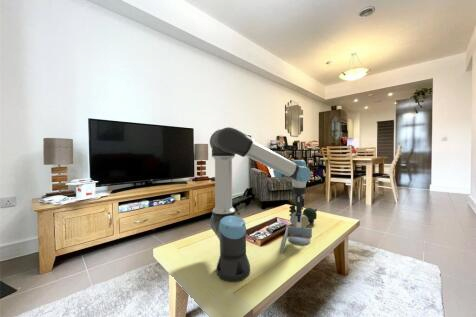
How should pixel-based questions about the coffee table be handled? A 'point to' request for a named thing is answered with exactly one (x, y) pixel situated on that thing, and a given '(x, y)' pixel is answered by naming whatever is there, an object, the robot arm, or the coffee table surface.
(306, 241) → the slate coaster
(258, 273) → the coffee table surface
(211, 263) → the coffee table surface
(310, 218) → the toy figurine
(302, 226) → the ceramic mug
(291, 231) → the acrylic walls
